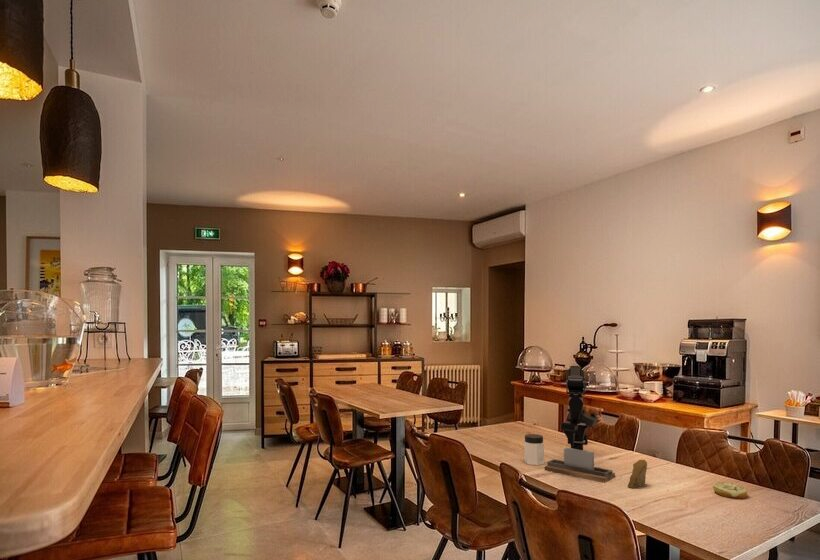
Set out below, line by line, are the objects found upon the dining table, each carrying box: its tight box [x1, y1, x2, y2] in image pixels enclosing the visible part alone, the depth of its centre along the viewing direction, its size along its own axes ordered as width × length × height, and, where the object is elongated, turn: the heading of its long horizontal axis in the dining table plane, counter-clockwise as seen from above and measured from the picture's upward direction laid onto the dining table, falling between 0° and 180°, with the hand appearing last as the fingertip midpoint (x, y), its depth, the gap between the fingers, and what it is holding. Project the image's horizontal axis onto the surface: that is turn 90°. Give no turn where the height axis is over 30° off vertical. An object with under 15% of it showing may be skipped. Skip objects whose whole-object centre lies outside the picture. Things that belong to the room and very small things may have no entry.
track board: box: [544, 458, 616, 483], centre depth 219 cm, size 11×26×3 cm, turn 48°
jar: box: [523, 433, 545, 466], centre depth 236 cm, size 9×8×12 cm
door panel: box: [563, 447, 595, 470], centre depth 220 cm, size 2×12×8 cm, turn 48°
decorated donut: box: [712, 481, 748, 500], centre depth 193 cm, size 10×11×4 cm
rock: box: [627, 459, 648, 489], centre depth 204 cm, size 11×9×10 cm
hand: (576, 443), depth 224 cm, fingers open, 9 cm apart
